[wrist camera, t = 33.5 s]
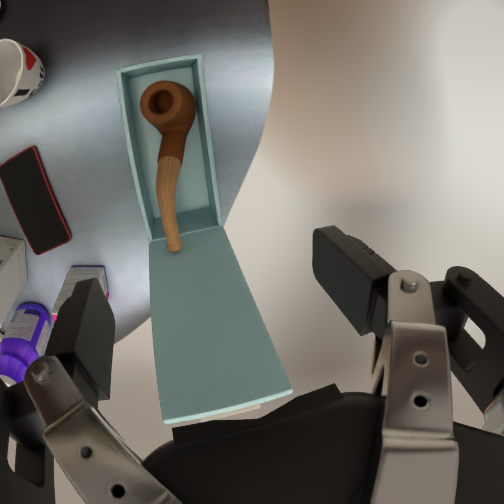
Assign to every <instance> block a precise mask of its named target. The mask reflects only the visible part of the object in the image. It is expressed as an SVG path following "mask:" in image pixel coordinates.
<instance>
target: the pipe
mask: <svg viewBox="0 0 504 504" xmlns="http://www.w3.org/2000/svg"><path fill="white" fill-rule="evenodd" d="M140 110H141V113H142V115H143V116H144V118H145V119H146V120H147V121H148V122H149V123H150V124H152V125H153V126H154V127H155V128H156V129H157V130H158V131H159V133H160V134H161V135H162V139H161V144H160V149H159V154H158V159H157V163H158V168H157V176H156V197H157V201H158V206H159V210H160V214H161V218H162V223H163V227H164V231H165V235H166V239H167V243H168V245H167V248H168V250H169V251H170V252H176V251H180V250H181V249H182V247H183V245H182V242H181V239H180V235H179V230H178V225H177V219H176V211H175V192H176V185H177V180H178V175H179V171H180V167H181V166H182V162H183V156H184V149H185V143H186V138H187V135H188V133H189V131H190V129H191V127H192V125H193V122H194V118H195V114H196V101H195V98H194V96H193V94H192V93H191V91H190V90H189V89H188V88H186V87H185V86H183V85H181V84H179V83H177V82H173V81H167V80H162V81H157V82H155V83H153V84H151V85H150V86H148V87H147V88H146V89H145V91H144V92H143V94H142V96H141V99H140Z"/></svg>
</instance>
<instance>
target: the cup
mask: <svg viewBox="0 0 504 504" xmlns="http://www.w3.org/2000/svg"><path fill="white" fill-rule="evenodd" d="M44 77H45V69H44V66H43V64H42V62H41V60H40V58H39V57H38V56H37V55H36V54H35V53H33V52H32V51H31V50H30V49H29V48H27V47H25V46H23V45H21V44H19V43H17V42H15V41H13V40H10V39H2V40H0V108H3V107H8V106H11V105H13V104H16V103H18V102H20V101H23V100H25V99H27V98H28V97H30V96H31V95H32V94H33V93H35V92H36V91H37V90H38V89H39V88H40V86H41V85H42V83H43V80H44Z"/></svg>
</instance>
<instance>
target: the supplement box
mask: <svg viewBox="0 0 504 504" xmlns="http://www.w3.org/2000/svg"><path fill="white" fill-rule="evenodd" d="M94 277H96V278H97V279H98V280H99V282H100V285H101V287H102V289H103V292H104V294H105V296H106V298H107V300H108V296H109V292H108V286H107V280H106V274H105V267H104V266H101V265H100V266H71V268H70V270H69V272H68V275H67V277H66V279H65V281H64V284H63V286H62V288H61V291H60V293H59V295H58V298H57V300H56V303H55V305H54V308H53V310H52V313H51V314H52V317H53V320H54V322H55V320H57V319H56V317H57V314H58V311H59V308H60V307H61V305H62V304H63V303H64V302H65V300H66V299H67V298H68V297H71V295H72V292H73V290H74V287H75V284H76V282H77V281H81V280H86V279H90V278H94Z"/></svg>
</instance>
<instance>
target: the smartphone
mask: <svg viewBox="0 0 504 504" xmlns="http://www.w3.org/2000/svg"><path fill="white" fill-rule="evenodd" d="M0 178H1V181H2V184H3V186H4V189H5V192H6V194H7V196H8V199H9V201H10V204H11V206H12V208H13V211H14V213H15V215H16V217H17V220H18V222H19V224H20V226H21V228H22V230H23V232H24V235H25V237H26V239H27V241H28V243H29V245H30V246H31V248H32V250H33V252H34V253H35V254H36V255H40V254H43V253H45V252H47V251H49V250H52V249H54V248H56V247H58V246H61V245H63V244H65V243H67V242H69V241H70V239H71V235H70V232H69V230H68V228H67V226H66V224H65V222H64V219H63V217H62V215H61V213H60V210H59V208H58V206H57V203H56V201H55V199H54V196H53V194H52V191H51V189H50V186H49V184H48V181H47V179H46V176H45V173H44V171H43V168H42V165H41V162H40V159H39V157H38V154H37V151H36V149H35V148H34V147H32V146H31V147H28V148H27V149H25V150H23V151H22V152H20V153H18V154H17V155H15V156H14V157H12V158H10V159H9V160H7V161H6V162H4V163H3V164H1V165H0Z"/></svg>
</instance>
